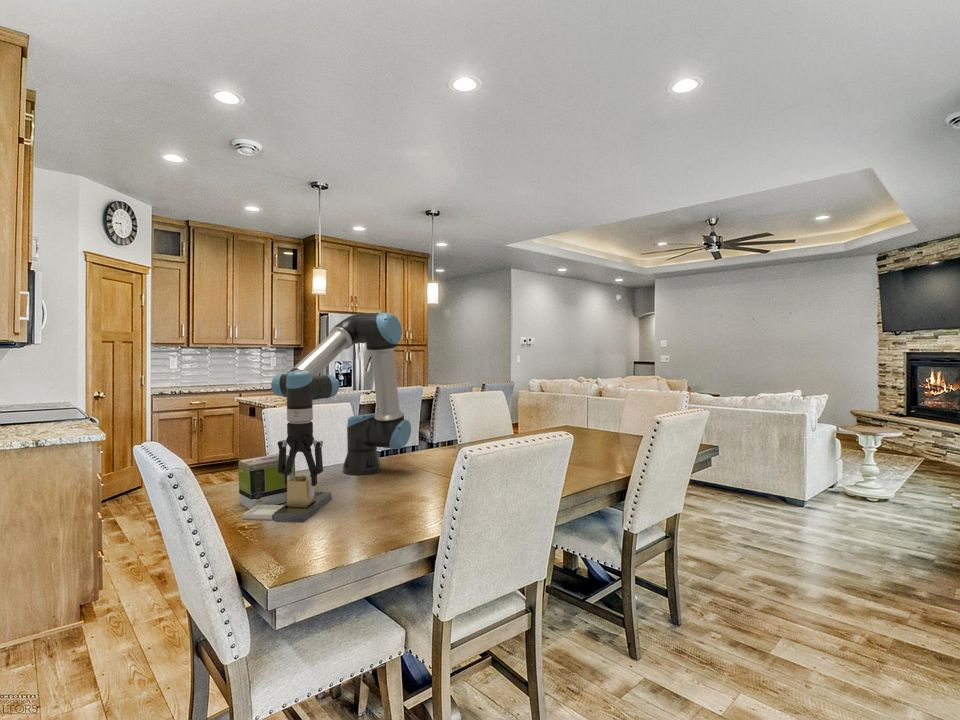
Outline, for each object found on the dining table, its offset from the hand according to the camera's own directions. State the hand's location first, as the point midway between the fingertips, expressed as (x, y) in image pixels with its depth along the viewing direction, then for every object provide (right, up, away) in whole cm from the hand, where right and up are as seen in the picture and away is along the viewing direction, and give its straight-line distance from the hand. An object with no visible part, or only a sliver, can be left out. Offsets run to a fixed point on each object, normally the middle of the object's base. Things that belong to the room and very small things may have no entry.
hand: (301, 495), depth 161 cm
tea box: (-14, -5, +10) cm, 18 cm away
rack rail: (0, -5, +3) cm, 6 cm away
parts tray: (-10, -5, -2) cm, 12 cm away
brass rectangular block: (0, -4, 0) cm, 4 cm away
